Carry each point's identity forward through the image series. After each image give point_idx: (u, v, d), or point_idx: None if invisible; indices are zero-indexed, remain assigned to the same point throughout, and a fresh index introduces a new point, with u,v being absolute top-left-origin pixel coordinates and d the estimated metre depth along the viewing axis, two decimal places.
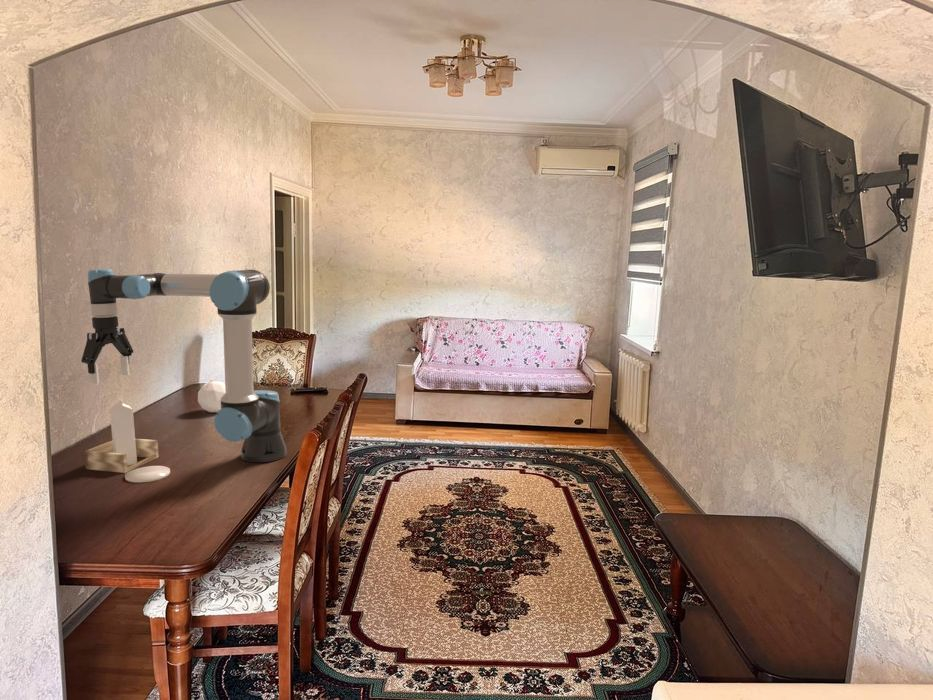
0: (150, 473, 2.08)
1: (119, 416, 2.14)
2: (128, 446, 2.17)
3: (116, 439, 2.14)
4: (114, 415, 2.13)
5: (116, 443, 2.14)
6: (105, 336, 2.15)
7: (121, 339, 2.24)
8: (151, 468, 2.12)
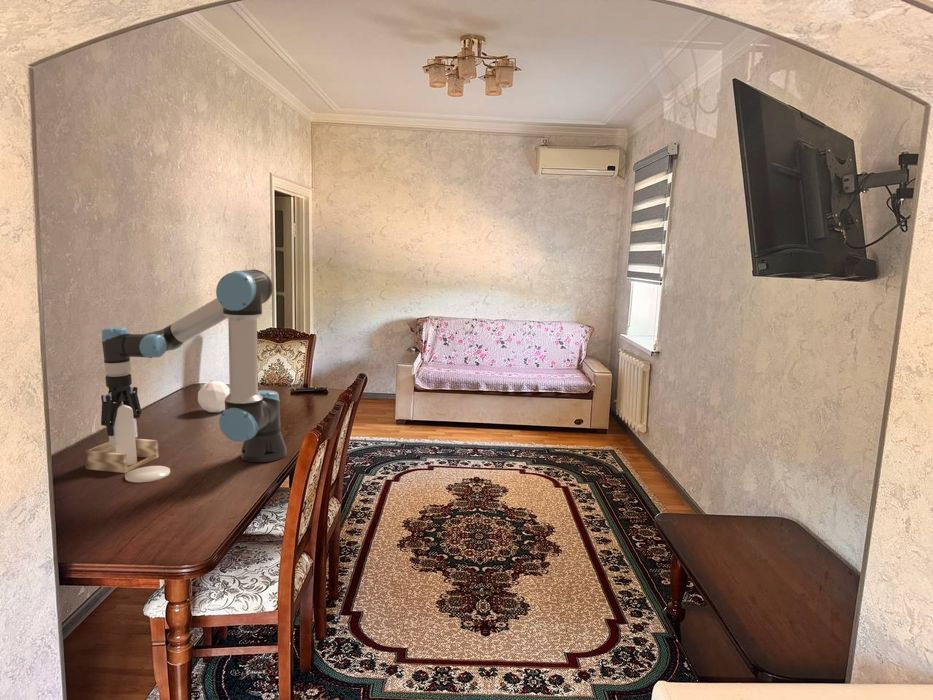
0: (150, 473, 2.08)
1: (119, 416, 2.14)
2: (128, 446, 2.17)
3: None
4: None
5: None
6: (119, 395, 2.13)
7: (132, 398, 2.21)
8: (151, 468, 2.12)
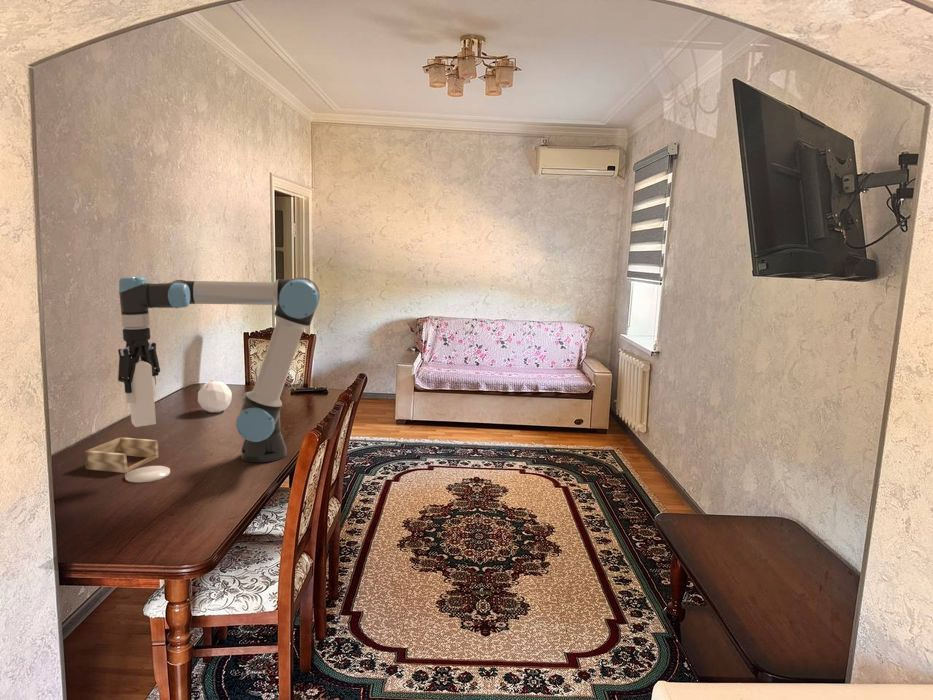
0: (150, 473, 2.08)
1: (137, 372, 2.00)
2: (147, 405, 2.03)
3: None
4: None
5: None
6: (137, 350, 1.99)
7: (150, 355, 2.08)
8: (151, 468, 2.12)
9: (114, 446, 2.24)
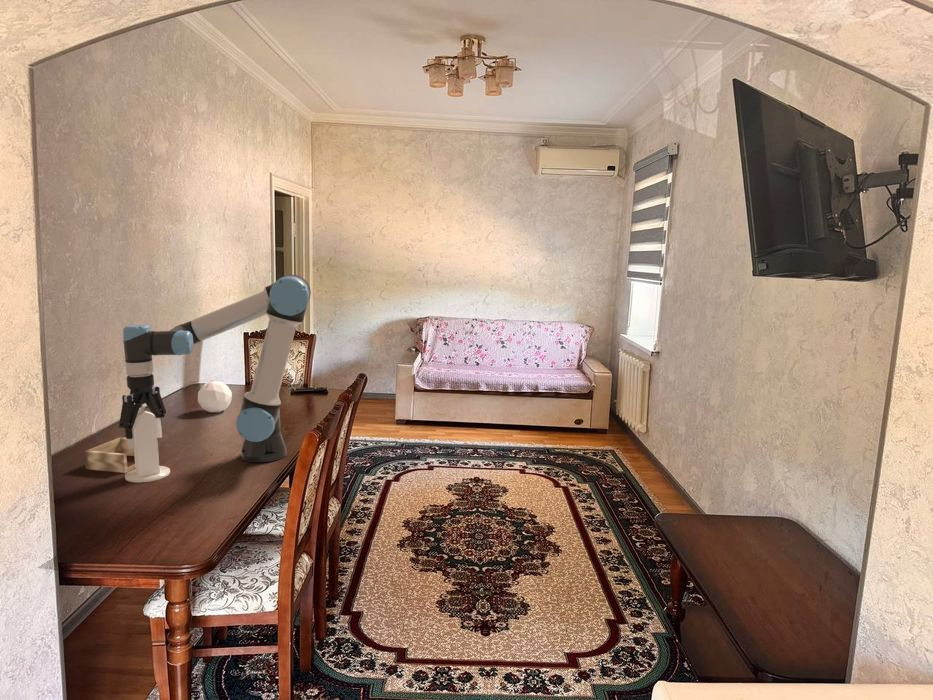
0: None
1: (141, 423, 2.03)
2: (151, 455, 2.05)
3: (138, 447, 2.03)
4: (136, 422, 2.02)
5: (138, 451, 2.03)
6: (141, 397, 2.02)
7: (155, 398, 2.11)
8: None
9: (114, 446, 2.24)
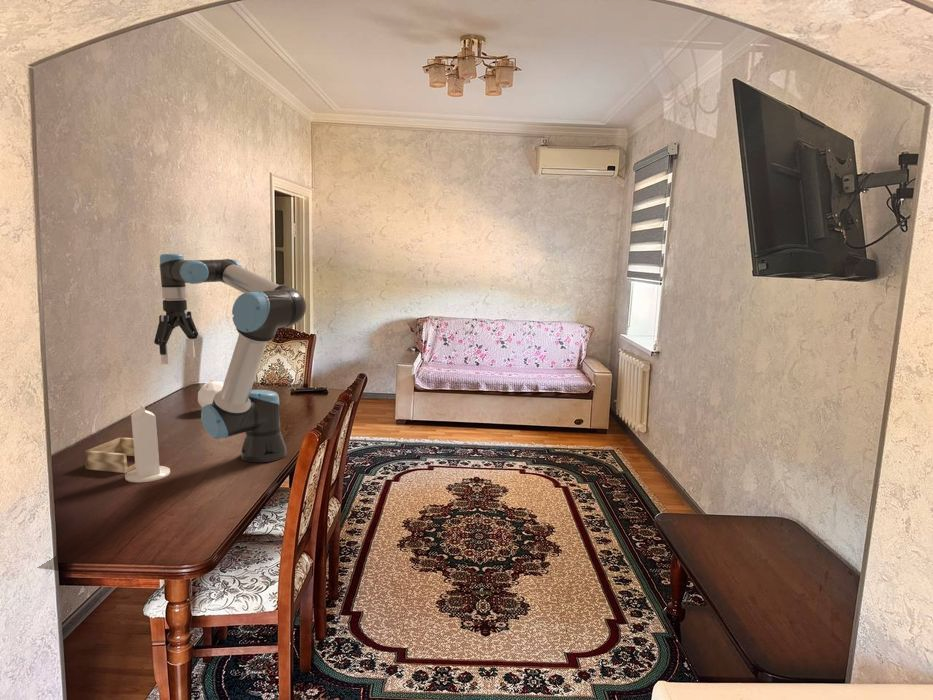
0: None
1: (141, 423, 2.02)
2: (151, 455, 2.05)
3: (138, 448, 2.03)
4: (136, 422, 2.02)
5: (138, 452, 2.03)
6: (175, 319, 2.22)
7: (188, 322, 2.31)
8: None
9: (114, 446, 2.24)
